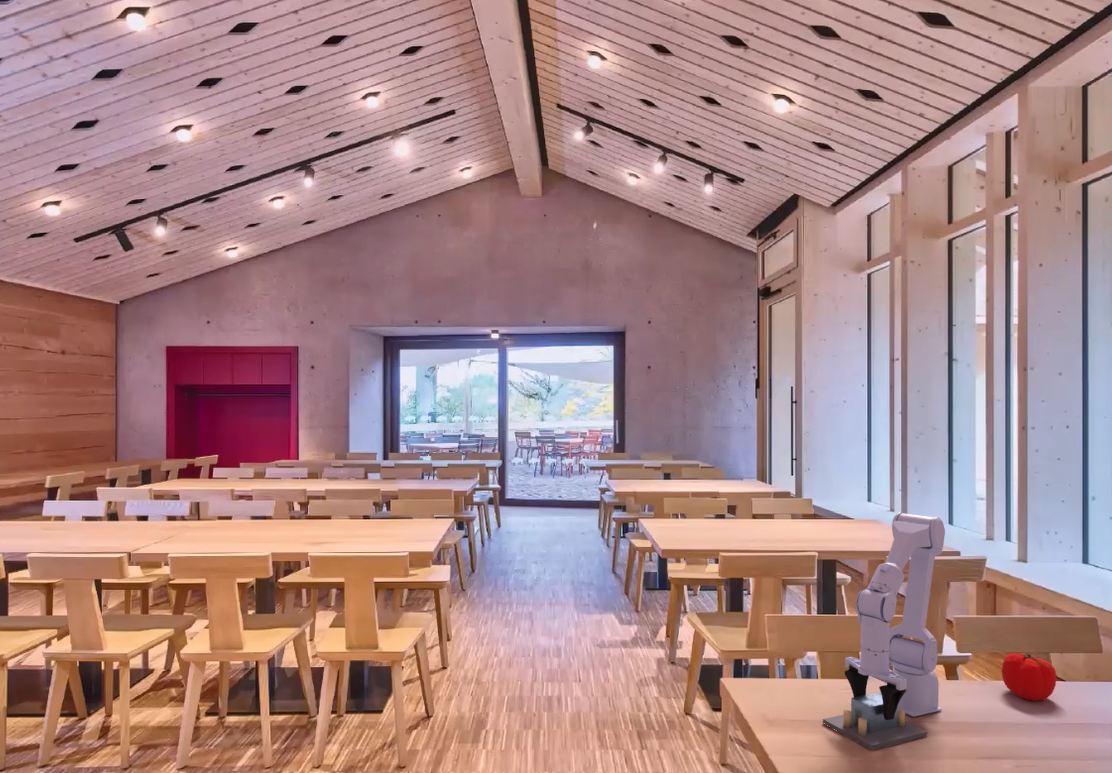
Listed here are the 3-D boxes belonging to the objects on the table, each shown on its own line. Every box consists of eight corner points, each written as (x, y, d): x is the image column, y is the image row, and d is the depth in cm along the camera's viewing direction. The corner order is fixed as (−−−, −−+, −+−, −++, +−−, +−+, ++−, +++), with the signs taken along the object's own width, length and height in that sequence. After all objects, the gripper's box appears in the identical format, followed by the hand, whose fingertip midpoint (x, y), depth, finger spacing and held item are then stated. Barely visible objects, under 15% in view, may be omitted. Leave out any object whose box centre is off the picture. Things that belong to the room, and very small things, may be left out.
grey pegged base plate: (876, 711, 165) (876, 694, 165) (927, 736, 153) (927, 717, 153) (822, 723, 158) (823, 705, 158) (871, 750, 146) (871, 730, 146)
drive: (878, 717, 159) (878, 692, 160) (897, 727, 155) (897, 701, 155) (851, 723, 156) (851, 697, 156) (869, 733, 152) (870, 707, 152)
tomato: (1004, 701, 172) (1004, 657, 172) (999, 682, 184) (999, 641, 184) (1061, 711, 167) (1061, 665, 167) (1052, 691, 178) (1053, 649, 179)
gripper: (835, 639, 161) (834, 701, 161) (889, 661, 148) (889, 729, 147) (858, 635, 164) (858, 696, 163) (914, 657, 150) (913, 723, 150)
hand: (874, 711), depth 156 cm, fingers open, 7 cm apart
